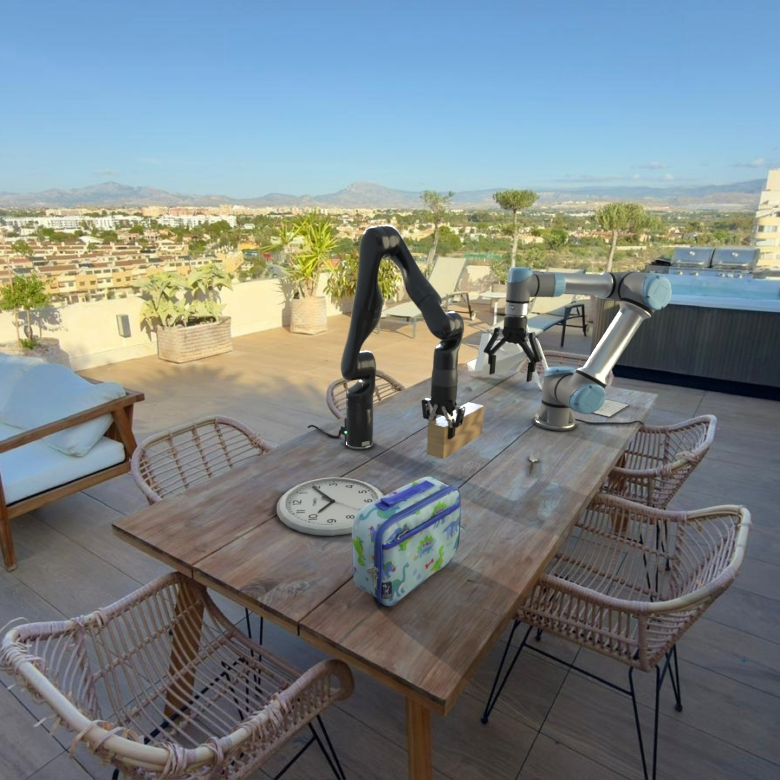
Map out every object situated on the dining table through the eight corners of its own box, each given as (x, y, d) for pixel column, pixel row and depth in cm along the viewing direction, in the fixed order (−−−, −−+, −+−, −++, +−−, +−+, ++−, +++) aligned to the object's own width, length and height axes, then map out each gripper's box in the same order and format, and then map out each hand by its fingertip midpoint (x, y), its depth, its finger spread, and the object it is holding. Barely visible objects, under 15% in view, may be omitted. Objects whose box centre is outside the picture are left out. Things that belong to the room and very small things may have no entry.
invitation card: (608, 416, 214) (573, 407, 224) (608, 416, 214) (573, 408, 224) (628, 404, 229) (594, 396, 238) (628, 405, 229) (594, 397, 238)
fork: (525, 475, 162) (525, 469, 161) (530, 455, 176) (531, 449, 176) (534, 476, 161) (534, 470, 161) (538, 456, 175) (539, 450, 175)
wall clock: (392, 527, 129) (268, 531, 127) (391, 533, 130) (269, 537, 127) (383, 473, 158) (282, 475, 155) (383, 478, 158) (282, 480, 156)
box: (466, 430, 176) (468, 402, 173) (481, 434, 172) (484, 405, 169) (426, 454, 157) (428, 422, 154) (443, 459, 154) (444, 427, 150)
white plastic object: (487, 418, 267) (468, 395, 242) (469, 346, 289) (449, 318, 264) (558, 394, 255) (545, 368, 230) (533, 321, 277) (518, 289, 252)
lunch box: (381, 619, 101) (382, 525, 95) (345, 592, 109) (344, 503, 102) (464, 563, 119) (469, 480, 113) (428, 543, 126) (432, 464, 120)
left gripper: (416, 380, 152) (414, 433, 157) (459, 389, 144) (456, 446, 149) (430, 374, 158) (428, 426, 163) (472, 383, 150) (468, 438, 155)
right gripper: (476, 312, 176) (472, 372, 183) (548, 321, 162) (540, 386, 169) (487, 310, 182) (482, 368, 189) (557, 318, 168) (549, 381, 174)
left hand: (441, 435), depth 156 cm, fingers closed on box, 5 cm apart
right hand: (510, 377), depth 179 cm, fingers open, 13 cm apart
